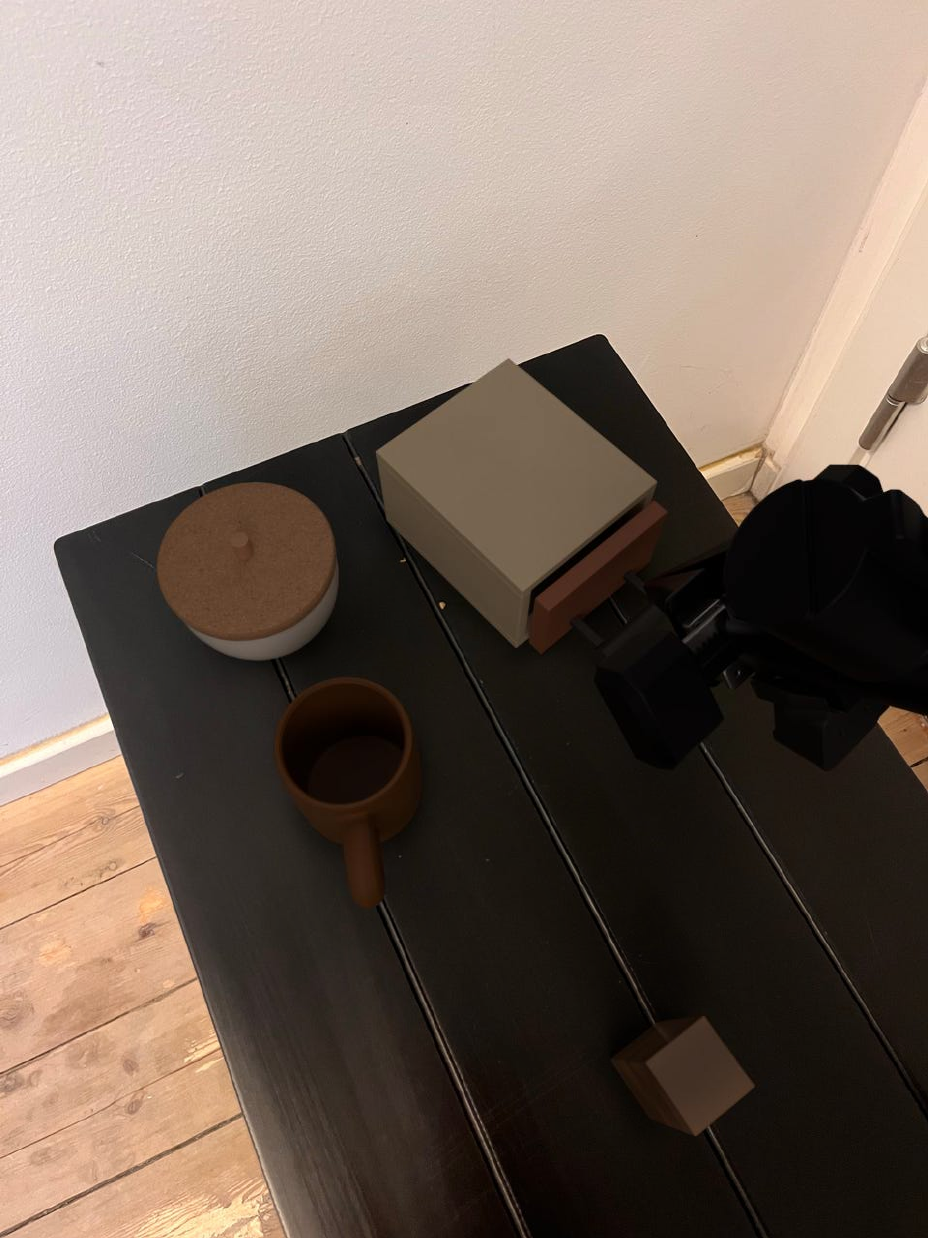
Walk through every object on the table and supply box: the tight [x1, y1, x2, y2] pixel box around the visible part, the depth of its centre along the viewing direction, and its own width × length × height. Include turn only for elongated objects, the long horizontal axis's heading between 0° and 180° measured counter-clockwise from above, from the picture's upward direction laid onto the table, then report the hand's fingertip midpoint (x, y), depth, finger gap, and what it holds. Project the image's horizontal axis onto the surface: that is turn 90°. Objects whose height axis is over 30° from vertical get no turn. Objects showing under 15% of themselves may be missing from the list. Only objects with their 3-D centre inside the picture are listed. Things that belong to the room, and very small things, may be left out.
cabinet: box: [375, 357, 658, 649], centre depth 58 cm, size 14×12×8 cm
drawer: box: [528, 500, 669, 663], centre depth 57 cm, size 16×10×6 cm, turn 42°
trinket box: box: [156, 481, 340, 662], centre depth 55 cm, size 11×11×9 cm
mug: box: [272, 676, 423, 909], centre depth 49 cm, size 12×8×9 cm, turn 11°
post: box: [610, 1014, 756, 1137], centre depth 42 cm, size 3×3×10 cm
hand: (650, 589), depth 52 cm, fingers closed
